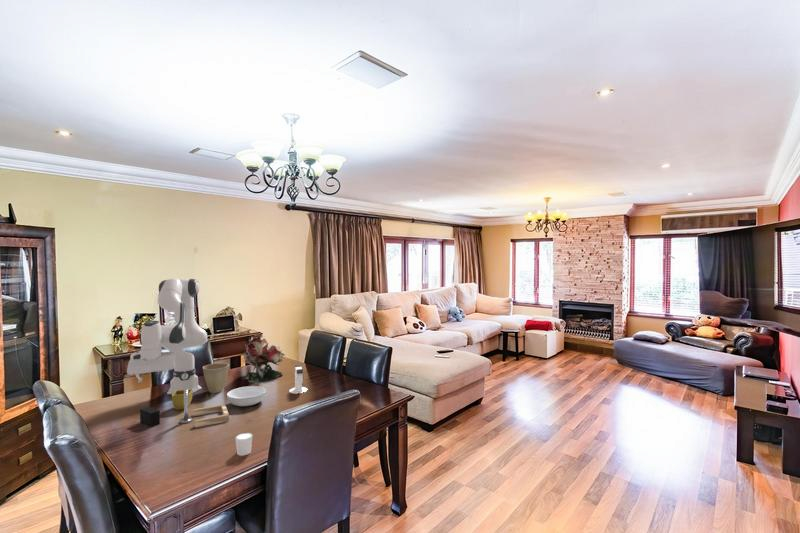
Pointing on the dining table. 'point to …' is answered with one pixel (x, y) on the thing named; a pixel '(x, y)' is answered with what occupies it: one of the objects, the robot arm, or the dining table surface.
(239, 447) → the shot glass
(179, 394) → the flower pot
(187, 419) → the hook post
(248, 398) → the serving bowl
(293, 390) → the white post stand
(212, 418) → the wooden frame
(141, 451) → the dining table surface
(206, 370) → the plant pot
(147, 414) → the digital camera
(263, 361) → the rose bouquet
